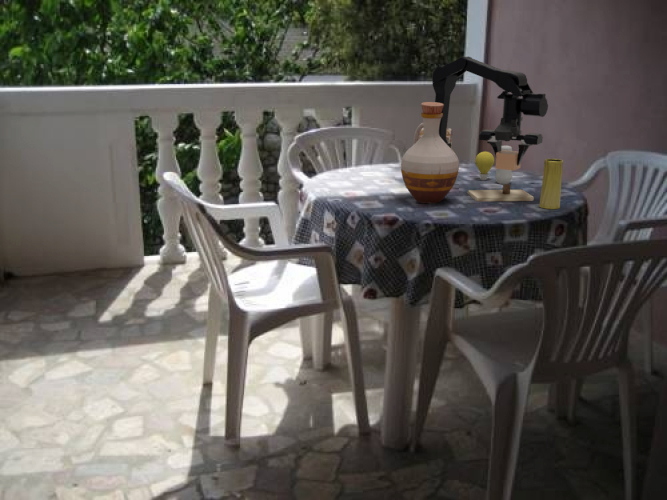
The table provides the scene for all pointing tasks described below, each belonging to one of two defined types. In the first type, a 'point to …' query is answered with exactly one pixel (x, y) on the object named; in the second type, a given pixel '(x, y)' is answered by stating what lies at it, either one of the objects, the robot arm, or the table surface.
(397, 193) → the table surface
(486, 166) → the light bulb
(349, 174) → the table surface
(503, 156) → the orange block
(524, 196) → the base board
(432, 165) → the jug
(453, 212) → the table surface
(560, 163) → the vase
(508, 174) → the salt shaker
